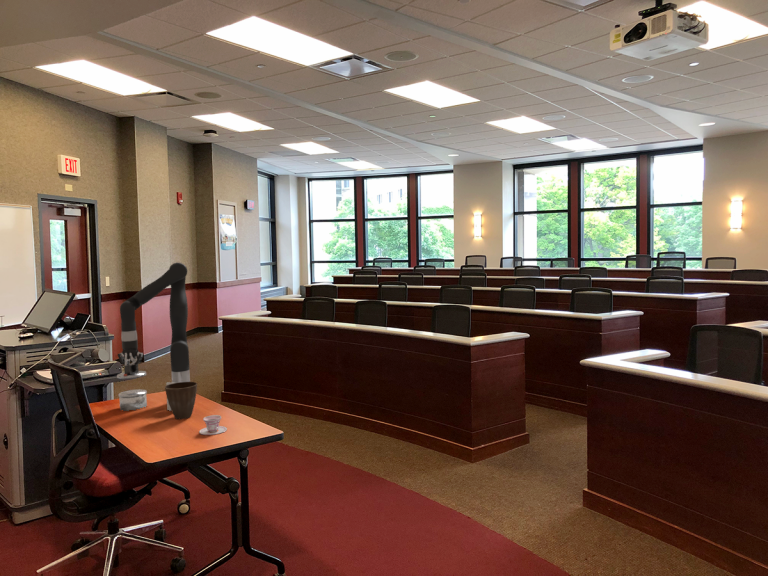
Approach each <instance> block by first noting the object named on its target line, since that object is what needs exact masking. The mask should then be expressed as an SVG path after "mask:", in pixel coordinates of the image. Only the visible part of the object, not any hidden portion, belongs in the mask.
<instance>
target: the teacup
mask: <svg viewBox="0 0 768 576" xmlns="http://www.w3.org/2000/svg"><path fill="white" fill-rule="evenodd" d="M202 420H203V422H205V424H206V426H205V427H204V428H201V429H199V433H198V434H200V435H204V436H214V435H219V434H223V433H225V432H227V430H228V428H227V427H226V426H224V425H223V426H222V425H220V421H221V420H222V416H221V415H220V414H211V415H208V416H204V417H203V418H202Z"/></svg>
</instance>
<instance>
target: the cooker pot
mask: <svg viewBox="0 0 768 576" xmlns="http://www.w3.org/2000/svg"><path fill="white" fill-rule="evenodd" d="M147 392H148V391H147V390H146V389H139V388H138V389H129V390H126V391H125V390H124V391H121V392H119V393H118V397H119V398H118V399H119V411H122V410H123V411H122V412H130V411H129V410H134V411H137V410H136V409H140V408H143V407H145V408H147V407H148V401H147V399H148V398H147ZM146 406H147V407H146ZM143 409H144V408H143ZM140 410H141V409H140Z"/></svg>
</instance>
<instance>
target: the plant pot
mask: <svg viewBox="0 0 768 576" xmlns="http://www.w3.org/2000/svg"><path fill="white" fill-rule="evenodd" d="M164 391H165V393H166V394H165V396H166V395H167V396H166V400H167V399H168V402H169V405H170V408H171V410H172V411H171V412H172V415H173V417H174V419H175V420H185V419H189V418H191V417H192V414H193V411H194V408H195V403H196V400H197V399H196V398H197V391H198V383H197V382H195V381H190V382H179V383H173V384H169V385H165V386H164Z"/></svg>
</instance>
